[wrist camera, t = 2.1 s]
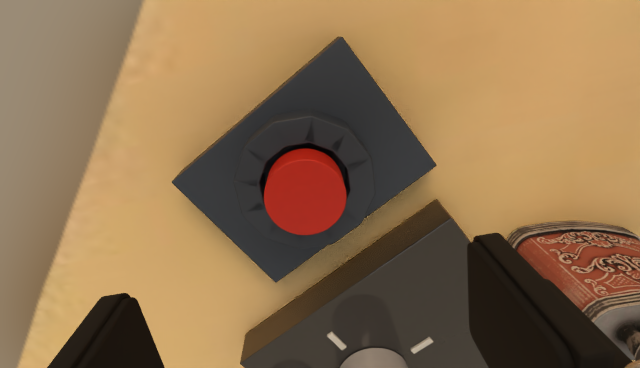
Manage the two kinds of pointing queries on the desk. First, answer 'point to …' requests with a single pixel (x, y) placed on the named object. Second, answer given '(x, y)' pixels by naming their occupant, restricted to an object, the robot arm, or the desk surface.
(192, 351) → the desk surface
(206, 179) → the control block
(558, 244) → the lighter
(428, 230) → the grey dial base plate
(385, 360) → the knob
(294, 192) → the power button
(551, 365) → the robot arm
